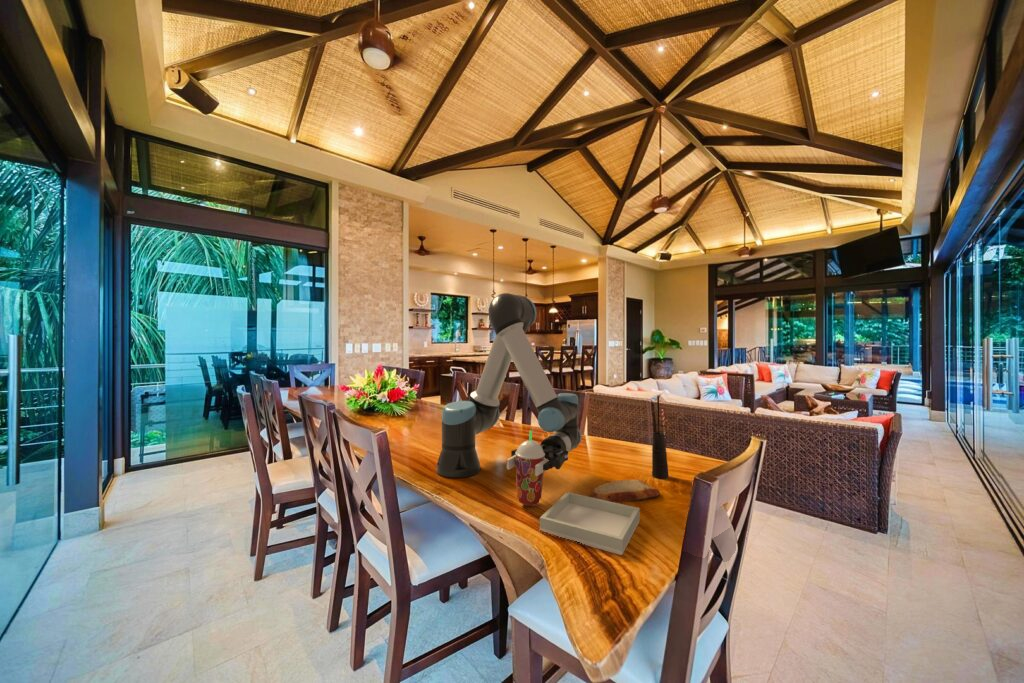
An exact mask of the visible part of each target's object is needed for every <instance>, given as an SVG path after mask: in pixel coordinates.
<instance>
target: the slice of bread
mask: <svg viewBox="0 0 1024 683" xmlns="http://www.w3.org/2000/svg"><path fill="white" fill-rule="evenodd" d="M660 494H661V492H660V490H659V489H657V488H655V487H653V486H652V485H650V484H649V483H647V482H645V481H643V480H642V479H641V480H640V479H638V478H637V479H634V478H633V479H620V480H619V479H618V480H613V481H609V482H607V483H602V484H600V485H598V486H596V487H594V488H593V489H592V490H591V494H590V497H592V498H596V499H601V500H605V501H610V502H614V503H620V502H621V503H624V502H626V503H627V502H637V501H644V500H649V499H651V498H656V497H658V496H660Z"/></svg>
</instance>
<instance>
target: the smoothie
mask: <svg viewBox="0 0 1024 683" xmlns="http://www.w3.org/2000/svg"><path fill="white" fill-rule="evenodd" d="M532 435H533V431H532V430H529V437H528V440H524V441H522V442H521V443H520V445H519V446H518V447H517V448H516V449H517V451H516V452H515V454H516V466H515V473H516V477H515V478H516V479H515V480H516V497H517V499H518V502H519V503H520V504H522V505H525V506H535V505H537V504H540V503H539V502H540V500H541V499H542V493H543V492H542V491H543V479H544V472H543V473H541V474H540V475H538V476H535V465H537V464H538V463H540V462H541V461H543V460H544V459H545V453H544V451H543V449H542V447H541V445H540V444H541V443H539V442H538V441H535V440H533V439H532V438H533V436H532Z"/></svg>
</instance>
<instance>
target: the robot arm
mask: <svg viewBox="0 0 1024 683" xmlns="http://www.w3.org/2000/svg"><path fill="white" fill-rule="evenodd" d="M487 312H488V319H489V322H490V324H491V326H492V329H493V331H494V333H495V336H494V339H493V343H492V345H491V347H490V351H489V353H488V357H487V359H486V360H485V364H484V367H483V371H482V373H481V375H480V379H479V382H478V384H477V387H476V389H475V390H474V391H472V392H470V394H469V398H468V400H458V401H457V400H456V401H452V402H448V403H447V404H445V405H444V406H443V407H442V412H441V413H442V414H441V419H440V420H441V450H440V453H439V456H438V459H437V462H436V473H437V474H438V475H440V476H442V477H445V478H452V479H455V478H457V479H459V478H468V477H472V476H474V475H476V474H478V473H479V472H480V471H481V462H480V460H479V456H478V452H477V450H476V435H478V434H481V433H483V432H486V431H488V430H490V429H491V428H493V427H494V426H495V425H496V424H497V422H498V421H499V418H500V409H499V408H500V404H501V403H500V399H499V395H500V393H501V389H502V387H503V384H504V381H505V379H506V377H507V373H508V370H509V367H510V365H511V363H512V362H513V364H514V366H515V369H516V370H517V372H518V374H519V376H520V378H521V380H522V382H523V384H524V387H525V388H526V390H527V391H528V392H527V393H528V394H529V396H530V398H531V400H532V401H533V404H534V406H535V408H536V410H537V413H538V415H537V424H538V426H539V427H540V429H541V430H543V431H544V432H547V433H552V434H550V435H549V436H547V437H546V438H544V439H543V440H542V441H541V443H539V444H540V445H541V447H542V449H543V451H544V453H545V459H544V460H543V461H541V462H540V463H538V464H537V465H535V476H538V475H540V474H541V473H543V474H544V472H545V471H549V470H552V469H554V470H555V469H556V470H560V469H561V467H562V466H563V464H565V462H566V461H568V460H569V452H571V451H573V450H575V449H576V448H577V447H578V446H579V445H580V444H581V442H582V438H583V435H582V432H581V430H580V429H579V406H580V405H579V397H578V395H577V394H575V393H570V392H569V393H568V392H560V393H558V394H556V391H555V389H554V387H553V386H552V384H551V382H550V380H549V378H548V376H547V374H546V372H545V370H544V368H543V366H542V364H541V362H540V360H539V358H538V356H537V355H536V352H535V351H534V349H533V346H532V344H531V343H530V342H531V341H529V339H528V336H527V335H526V333H527V331H528V328H530V327H531V326H533V325H534V323H535V322H536V319H537V314H538V313H537V308H536V305H535V303H534V302H533V301H532V300H531V299H530V298H528V297H525V295H524V296H523V295H519V294H513V293H510V292H509V293H508V292H507V293H505V292H503V293H500V294H498V295H496V296H495V297H494V298H493V299H492V300H491V301H490V303H489V306H488V311H487ZM554 432H555V433H554ZM517 449H518V448H516V449H512V450H511V452H510V453H511V454H510V455H511V456H510V457H509V458H507V459H506V469H507V470H511V469H512V468H514V467H516V454H515V452H516V451H517Z"/></svg>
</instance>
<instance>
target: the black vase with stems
mask: <svg viewBox="0 0 1024 683" xmlns="http://www.w3.org/2000/svg"><path fill="white" fill-rule="evenodd" d="M656 397H657V402H656V403H657V432H656V431H655V432H652V438H651V440H652V443H651V444H652V446H651V450H652V451H651V452H652V453H651V454H652V456H651V457H652V459H651V461H652V462H651V463H652V465H651V466H652V467H651V468H652V474H651V475H652V477H653V478H655V479H659V480H664V479H665V480H666V479H668V478H669V466H668V455H667V446H666V437H665V433H663V432H662V430H660V396H659V394H658V395H657V396H656Z"/></svg>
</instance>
